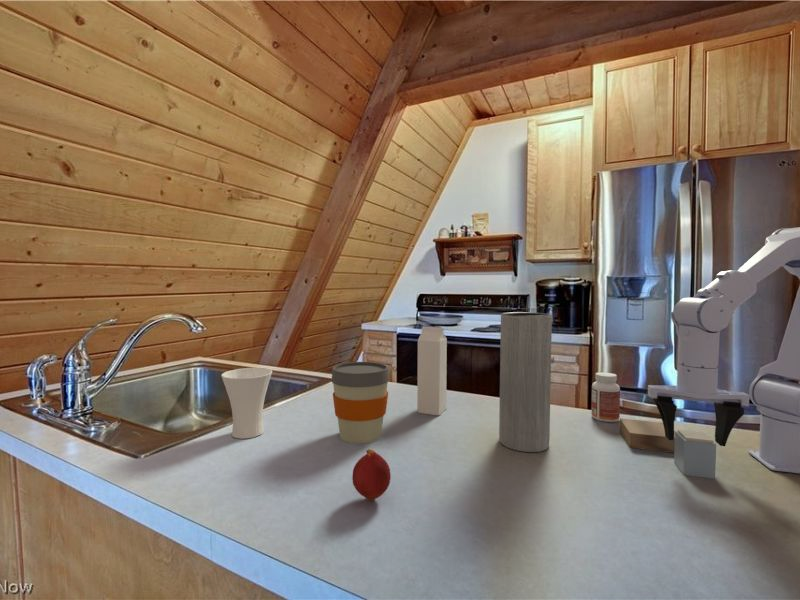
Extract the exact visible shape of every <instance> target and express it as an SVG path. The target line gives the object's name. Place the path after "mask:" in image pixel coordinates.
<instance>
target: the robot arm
mask: <svg viewBox="0 0 800 600" xmlns="http://www.w3.org/2000/svg"><path fill="white" fill-rule="evenodd" d="M781 267H782V268H784V270H785V271H787V272H788V273H789V274H791V275H794V276H796V277H797V278H798V279H799V280H800V226H799V227H792V228H791V227H789V228H788V227H786V228H785V227H783V228H779V229H777V230H775V231H774V232H773V233H772V234H770V235H769V236H767V237H766V238H765V241H764V246H762V247H761V248H760V249H759V250H758V251H757V252H756V253H755V254H754V255H753V256H752V257H751V258H749V259H748V260H747V261H746V262H744V264H743V265H742V266H741V267H739V268H738V270H734V269H733V270H732V269H731V270H725V271H720V272H718V273H717V274H716V275H715V277H716V278H715V279H713V280H712V281H710V282H709V283H708V284H707V285H706V286H704V287H703V288H700V289H699V290H697V291H696V294H694V295H693V297H692V296H691V297H689V296H688V297H683V298H682V299H680V300H679V301H678V302H676V304H675V305H674V307H673V310H672V311H670V319H671V321H672V323H673V324H674V326H675V335H677V337H678V345H677V368H676V369H677V370H676V371H677V372H676V373H677V374H676V375H677V376H676V385H653V384H648V385H647V396H648V397H649V398H651V399H652V400H653V401H654V404H655V406H656V408H657V410H658V412H659V414H660V418H661V422H662V423H663V425H664V430H665V436H666V437H667V438H668V440H674V431H675V419H676V418H675V417H676V413H677V409H678V405H676V404H675V402H674V400H680V401H681V400H682V401H692V402H693V401H694V402H704V403H705V402H706V403H713V404H714V414H715V428H714V429H715V430H714V443H717V445H719V446H721V447H726V444H727V442H728V440H729V437H730V434H731V432H732V431H733V428H734V427H735V425H736V424H737V423H738V421H740V419H741V417H743V416H744V415H745V408H743V407H750V400H751V403H752V404H753V405H755V406H756V412H759V413H760V419H759V421H760V423H759V424H760V425H759V441H758V442H759V444H758V445H759V446H758V447H759V448H758V450H752V449H749V450H748V451H747V452H748V454H750V455H751V456H752V457H754V459H756V460H758V461H759V463H761V464H763V466H766V467H767V468H768V469H769V470H772V471H777V472H784V473H793V474H800V383H798V382H800V285H799V287H798V290H797V292H796V297H795V299H794V302H793V305H792V309H791V311H790V312H791V313H790V316H789V319H788V323H787V326H786V328H785V332H784V336H783V339H782V342H781V345H780V348H779V352H778V356H777V359H776V360H774V361H773V362H771V363H768V364H766V365H764V366H761V367H760V368H759V371H758V373H757V375H756V376H755V378H754V379H753V380H752V382H751V383H750V385H749V388H748V389H749V390H748V393H745V392H743V391H733V390H724V389H718V382H719V380H718V379H719V355H720V353H719V352H720V337H721V336H720V333H721V331H722V330H724V329H726V328H727V327H728V326H729V324H730V321H731V318H732V315H733V314H735V311H736V309H738V308H739V307H740V306H741V305H742V304H744V303H745V302H746V301H748V300H749V299H750V298H751V297H753V296H754V295H755V294H756V292H757V290H758V289H757V288H758V287H757V284H758V283H760V282H761V281H762V280H764V279H765V278H767V277H768V276H769V275H771V274H773V273H774V272H775V271H777V270H779V269H780V268H781ZM790 380H791V381H790ZM793 381H795V382H793ZM742 406H743V407H742Z"/></svg>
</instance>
